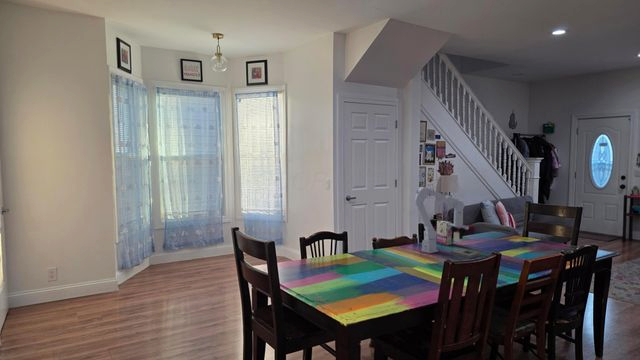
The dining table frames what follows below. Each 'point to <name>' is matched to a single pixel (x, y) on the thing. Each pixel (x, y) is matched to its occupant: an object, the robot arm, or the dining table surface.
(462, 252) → the power strip
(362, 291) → the dining table surface
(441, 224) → the candy bar box
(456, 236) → the charger
